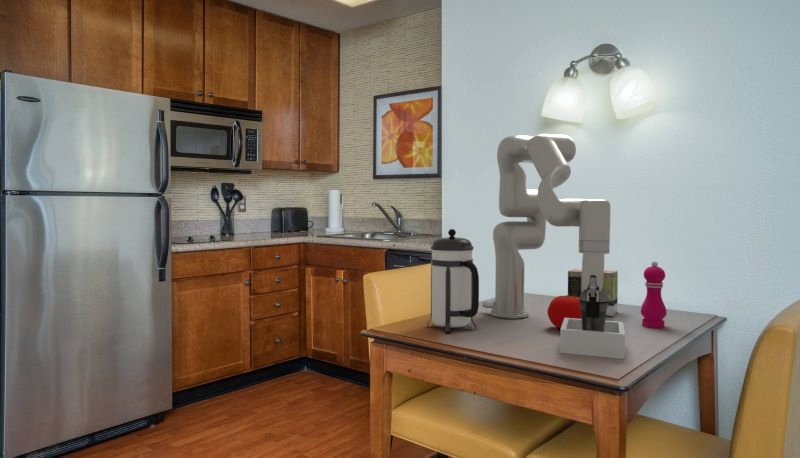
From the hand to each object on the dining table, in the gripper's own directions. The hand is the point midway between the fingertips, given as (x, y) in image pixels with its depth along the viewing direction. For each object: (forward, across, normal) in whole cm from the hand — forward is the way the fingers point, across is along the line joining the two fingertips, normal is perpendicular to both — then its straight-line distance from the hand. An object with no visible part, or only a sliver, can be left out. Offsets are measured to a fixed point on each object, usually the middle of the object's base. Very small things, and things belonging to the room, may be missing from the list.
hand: (592, 313), depth 140 cm
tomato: (+9, -20, -7) cm, 24 cm away
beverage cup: (+8, +1, 0) cm, 8 cm away
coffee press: (+9, -8, -39) cm, 41 cm away
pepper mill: (+9, -34, +17) cm, 40 cm away
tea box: (+9, -50, -1) cm, 51 cm away
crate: (+9, 0, 0) cm, 9 cm away
